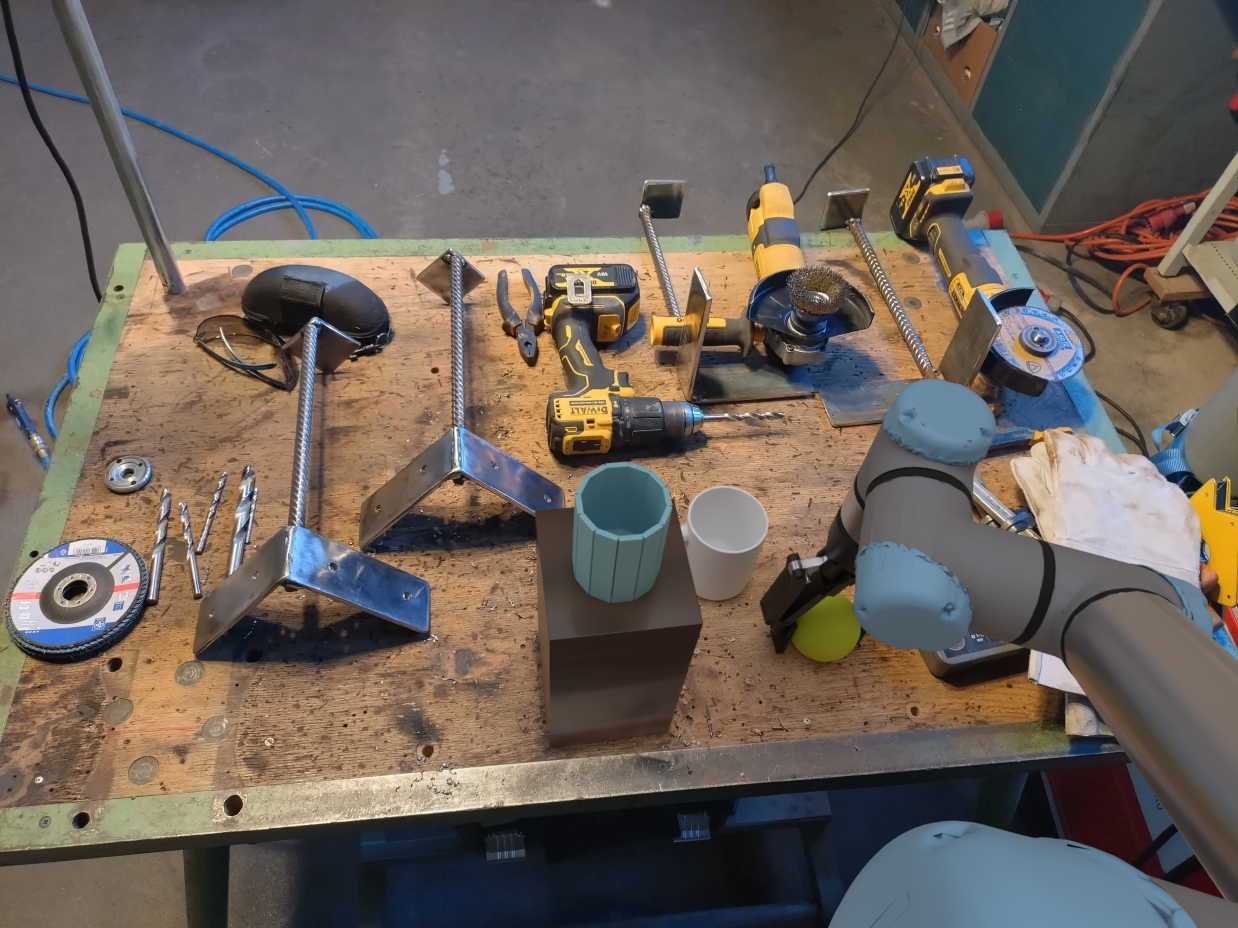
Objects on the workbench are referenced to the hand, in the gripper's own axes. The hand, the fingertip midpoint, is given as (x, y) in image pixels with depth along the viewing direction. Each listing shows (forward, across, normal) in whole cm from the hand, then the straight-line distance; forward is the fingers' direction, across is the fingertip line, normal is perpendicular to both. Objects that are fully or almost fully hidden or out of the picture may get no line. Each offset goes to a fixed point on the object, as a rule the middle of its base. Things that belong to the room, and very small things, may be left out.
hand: (813, 637), depth 88 cm
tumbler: (-24, +24, +2) cm, 34 cm away
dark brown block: (0, +24, +2) cm, 24 cm away
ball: (0, 0, 0) cm, 0 cm away
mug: (+1, +11, -10) cm, 15 cm away
